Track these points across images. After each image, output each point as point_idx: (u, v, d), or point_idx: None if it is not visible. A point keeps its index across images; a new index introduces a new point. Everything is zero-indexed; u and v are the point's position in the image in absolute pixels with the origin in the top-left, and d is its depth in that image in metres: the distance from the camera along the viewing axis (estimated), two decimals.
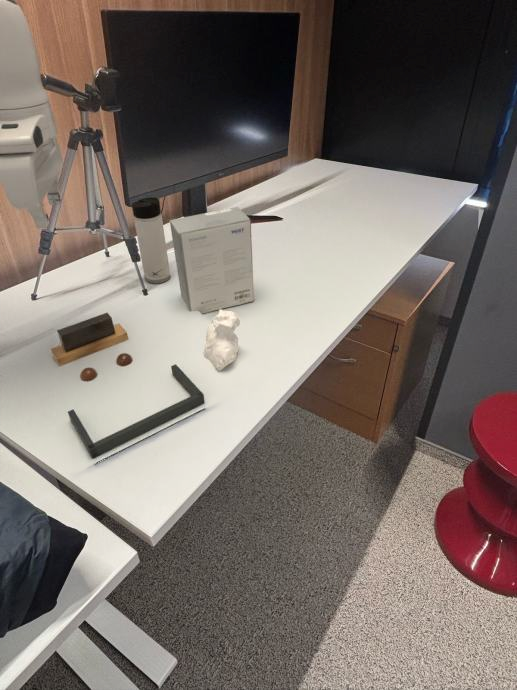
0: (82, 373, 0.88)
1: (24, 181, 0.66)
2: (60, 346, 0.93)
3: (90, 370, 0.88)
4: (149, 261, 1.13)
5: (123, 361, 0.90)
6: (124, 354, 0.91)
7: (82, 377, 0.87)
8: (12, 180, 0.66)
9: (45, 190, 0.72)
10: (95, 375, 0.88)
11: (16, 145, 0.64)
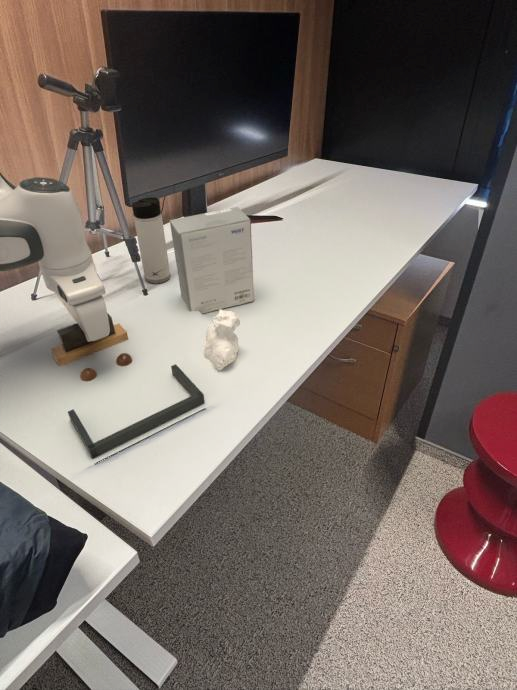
0: (82, 373, 0.88)
1: (101, 318, 0.82)
2: (60, 346, 0.93)
3: (90, 370, 0.88)
4: (149, 261, 1.13)
5: (123, 361, 0.90)
6: (124, 354, 0.91)
7: (82, 377, 0.87)
8: (93, 320, 0.81)
9: None
10: (95, 375, 0.88)
11: (94, 293, 0.80)
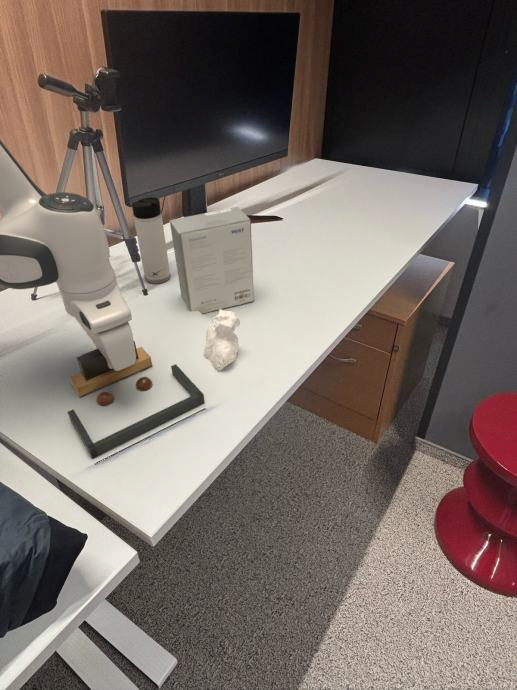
0: None
1: (127, 347, 0.75)
2: (79, 373, 0.86)
3: None
4: (149, 261, 1.13)
5: (141, 382, 0.85)
6: (142, 377, 0.86)
7: (97, 399, 0.83)
8: (118, 349, 0.74)
9: None
10: (110, 394, 0.83)
11: (120, 320, 0.73)
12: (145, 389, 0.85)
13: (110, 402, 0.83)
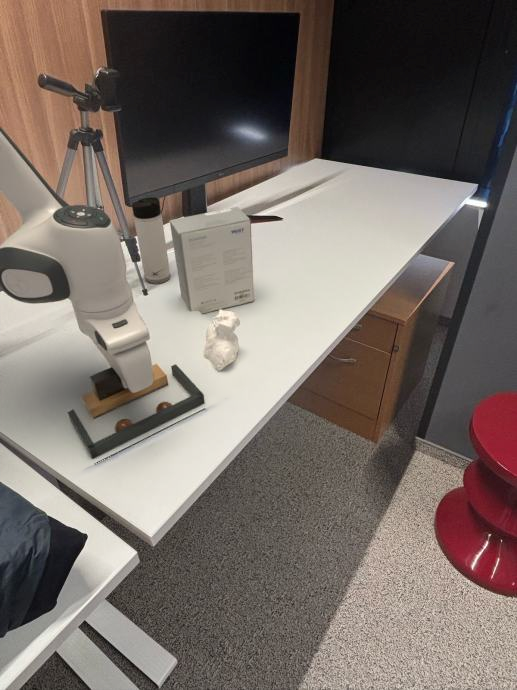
0: None
1: (145, 368, 0.71)
2: (92, 393, 0.82)
3: None
4: (149, 261, 1.13)
5: None
6: None
7: (115, 427, 0.78)
8: (135, 370, 0.70)
9: None
10: (127, 419, 0.79)
11: (137, 340, 0.69)
12: (163, 408, 0.80)
13: (127, 424, 0.77)
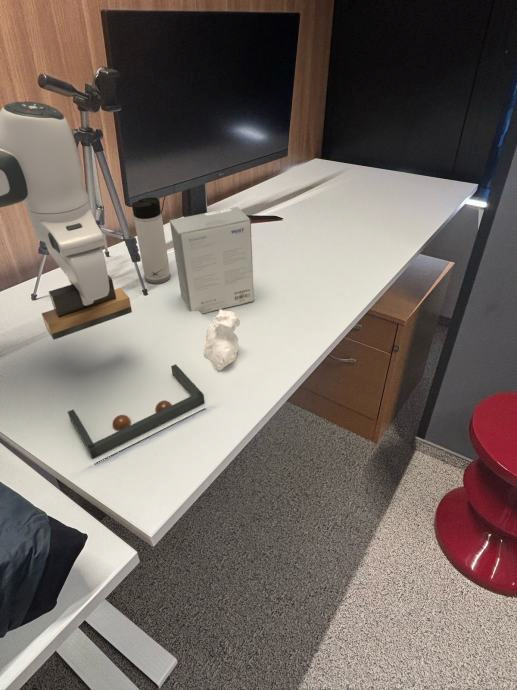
0: None
1: (100, 274, 0.70)
2: (52, 311, 0.81)
3: None
4: (149, 261, 1.13)
5: None
6: None
7: (113, 425, 0.79)
8: (89, 276, 0.69)
9: None
10: None
11: (91, 243, 0.68)
12: (161, 405, 0.80)
13: (121, 415, 0.79)
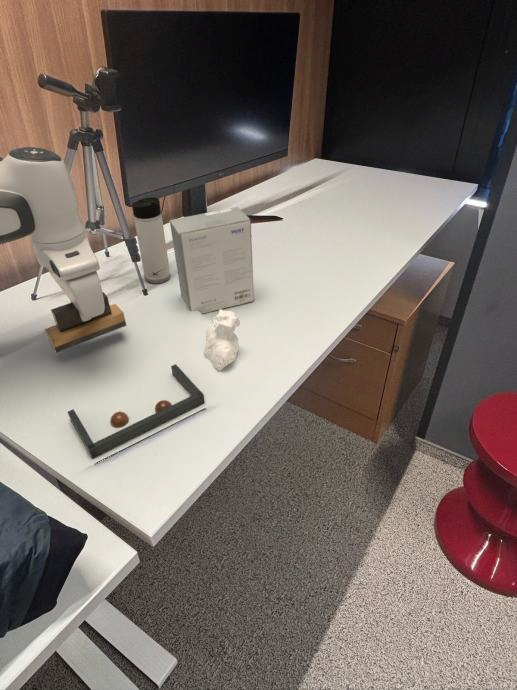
0: None
1: (96, 295, 0.79)
2: (54, 326, 0.90)
3: None
4: (149, 261, 1.13)
5: (157, 403, 0.81)
6: None
7: None
8: (87, 297, 0.79)
9: None
10: None
11: (88, 268, 0.77)
12: (161, 404, 0.80)
13: (118, 412, 0.80)
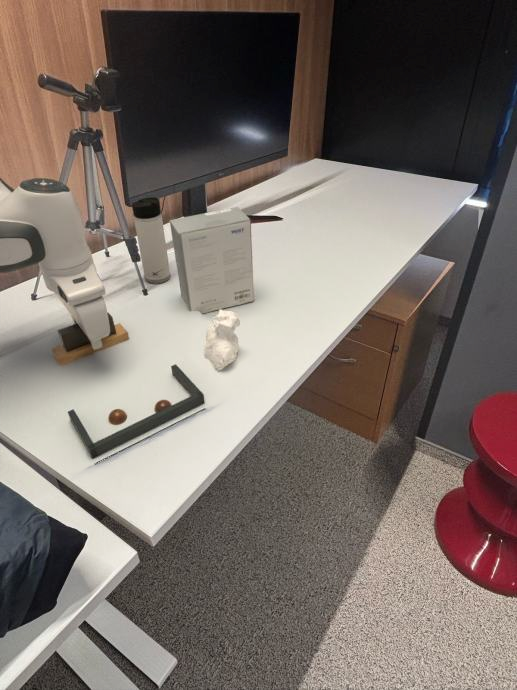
0: None
1: (102, 319, 0.82)
2: (61, 346, 0.93)
3: None
4: (149, 261, 1.13)
5: (156, 403, 0.82)
6: None
7: None
8: (93, 321, 0.82)
9: None
10: None
11: (94, 294, 0.80)
12: (160, 403, 0.81)
13: None
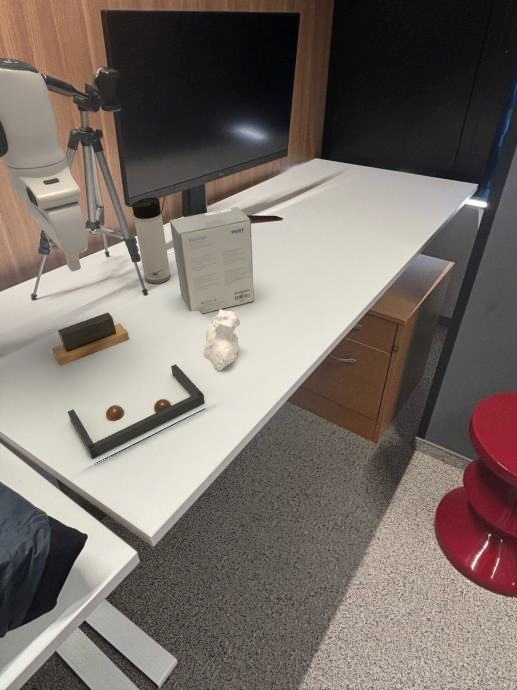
0: None
1: (78, 228, 0.72)
2: (61, 346, 0.93)
3: None
4: (149, 261, 1.13)
5: None
6: None
7: None
8: (67, 229, 0.71)
9: None
10: None
11: (68, 197, 0.70)
12: (159, 402, 0.81)
13: None
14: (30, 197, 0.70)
